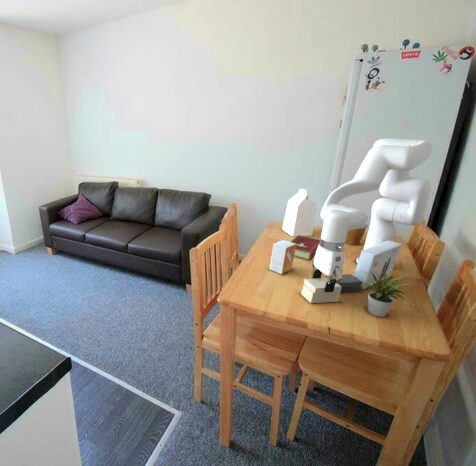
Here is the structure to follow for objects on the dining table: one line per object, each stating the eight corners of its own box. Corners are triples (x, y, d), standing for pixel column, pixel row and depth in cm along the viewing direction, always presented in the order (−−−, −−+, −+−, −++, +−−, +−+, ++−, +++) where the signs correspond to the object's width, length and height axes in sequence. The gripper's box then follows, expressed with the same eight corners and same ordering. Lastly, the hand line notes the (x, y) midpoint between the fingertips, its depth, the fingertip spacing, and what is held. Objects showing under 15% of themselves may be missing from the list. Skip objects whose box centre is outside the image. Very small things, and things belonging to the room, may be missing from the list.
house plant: (349, 316, 109) (360, 275, 104) (347, 297, 120) (357, 259, 114) (401, 329, 102) (416, 286, 96) (394, 307, 113) (407, 268, 107)
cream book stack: (327, 292, 124) (330, 283, 122) (338, 301, 118) (341, 291, 116) (301, 294, 124) (302, 284, 122) (310, 303, 118) (312, 293, 116)
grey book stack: (348, 283, 130) (350, 274, 128) (359, 291, 124) (362, 281, 122) (323, 284, 130) (325, 275, 128) (333, 292, 124) (335, 283, 122)
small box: (281, 274, 139) (286, 248, 134) (268, 269, 144) (272, 243, 139) (291, 269, 143) (296, 243, 138) (279, 264, 148) (283, 239, 143)
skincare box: (364, 290, 124) (375, 254, 119) (350, 284, 129) (359, 249, 123) (392, 277, 133) (402, 243, 128) (377, 272, 138) (387, 239, 132)
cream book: (328, 282, 123) (329, 277, 122) (340, 291, 116) (341, 286, 115) (303, 283, 122) (304, 278, 121) (314, 293, 116) (315, 288, 115)
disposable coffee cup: (342, 238, 174) (346, 218, 170) (363, 241, 169) (368, 221, 165) (341, 244, 167) (346, 223, 163) (362, 247, 162) (368, 226, 158)
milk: (312, 235, 180) (320, 191, 170) (292, 236, 179) (300, 192, 170) (300, 228, 191) (307, 187, 182) (282, 229, 191) (288, 187, 181)
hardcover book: (321, 246, 164) (322, 239, 163) (309, 260, 151) (310, 252, 149) (297, 241, 172) (298, 234, 171) (283, 253, 159) (284, 246, 157)
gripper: (359, 253, 105) (347, 298, 111) (326, 234, 121) (317, 274, 127) (338, 254, 104) (327, 299, 111) (307, 235, 120) (299, 275, 127)
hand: (322, 285), depth 119 cm, fingers closed on cream book, 7 cm apart
